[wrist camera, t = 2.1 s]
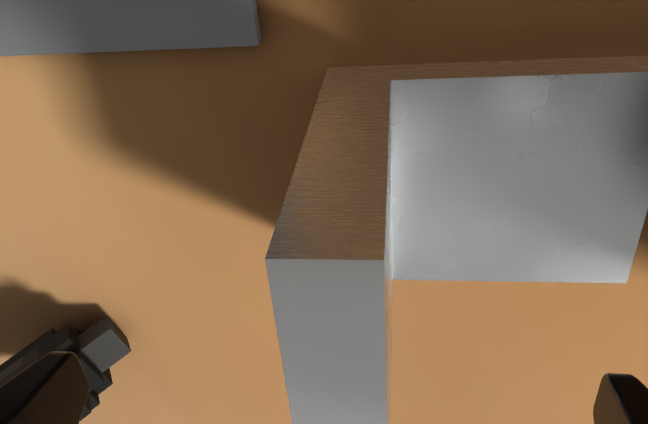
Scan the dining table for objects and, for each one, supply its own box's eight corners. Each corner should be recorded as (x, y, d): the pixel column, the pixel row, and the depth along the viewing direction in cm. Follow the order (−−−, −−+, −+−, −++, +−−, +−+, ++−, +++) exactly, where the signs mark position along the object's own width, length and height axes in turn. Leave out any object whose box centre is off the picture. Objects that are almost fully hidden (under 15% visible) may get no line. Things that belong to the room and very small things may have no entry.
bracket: (665, 53, 13) (941, 266, 6) (612, 256, 16) (760, 537, 10) (327, 65, 14) (264, 258, 7) (341, 254, 17) (305, 505, 11)
